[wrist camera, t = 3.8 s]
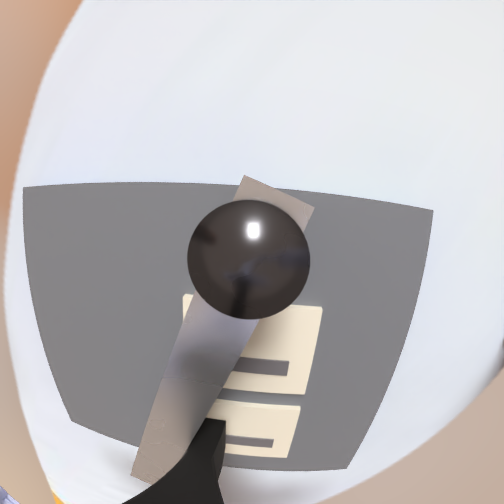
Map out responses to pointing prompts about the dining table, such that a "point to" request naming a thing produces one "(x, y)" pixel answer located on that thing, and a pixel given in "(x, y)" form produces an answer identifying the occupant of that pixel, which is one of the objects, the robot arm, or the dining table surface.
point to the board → (179, 283)
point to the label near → (276, 351)
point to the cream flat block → (256, 427)
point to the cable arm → (224, 310)
